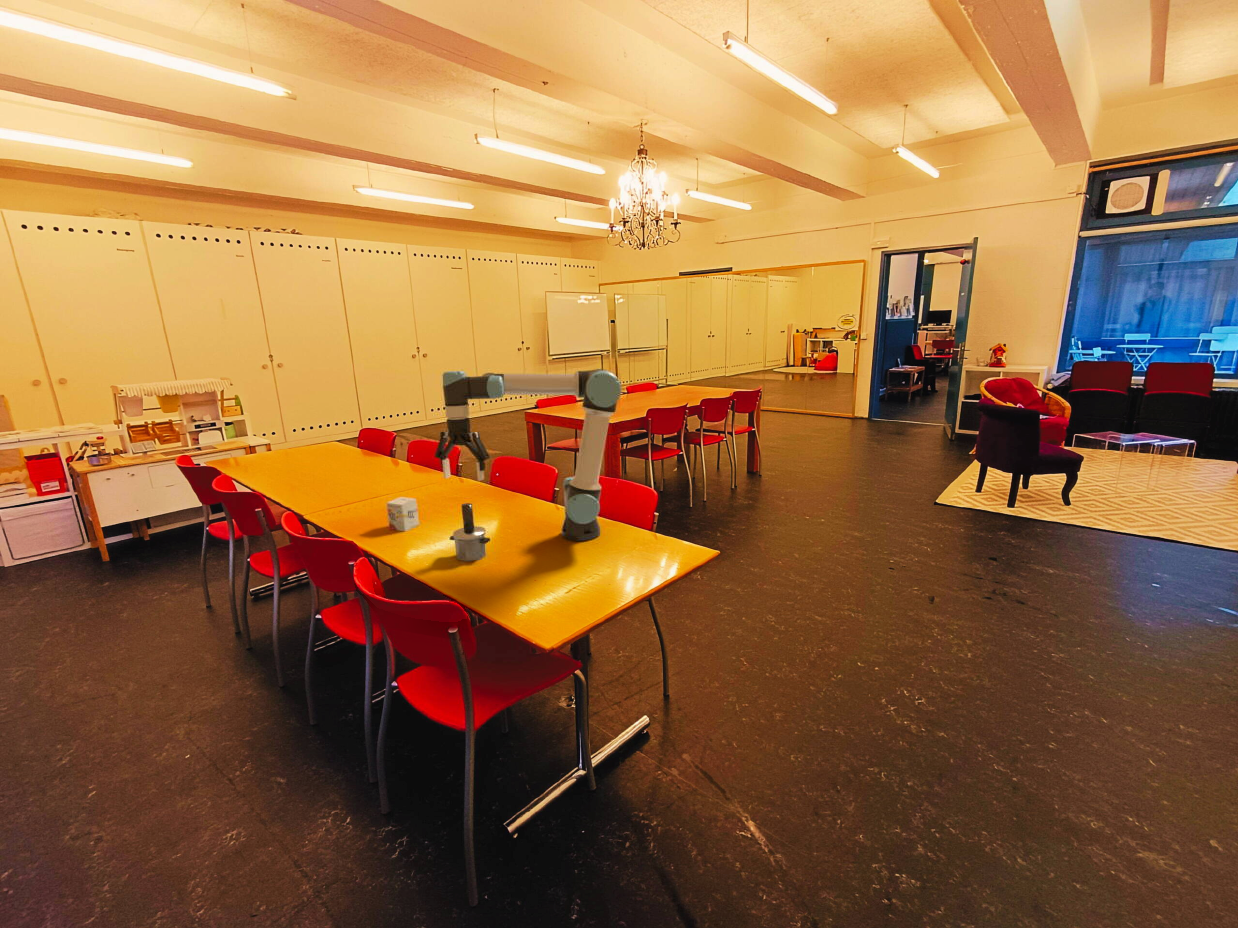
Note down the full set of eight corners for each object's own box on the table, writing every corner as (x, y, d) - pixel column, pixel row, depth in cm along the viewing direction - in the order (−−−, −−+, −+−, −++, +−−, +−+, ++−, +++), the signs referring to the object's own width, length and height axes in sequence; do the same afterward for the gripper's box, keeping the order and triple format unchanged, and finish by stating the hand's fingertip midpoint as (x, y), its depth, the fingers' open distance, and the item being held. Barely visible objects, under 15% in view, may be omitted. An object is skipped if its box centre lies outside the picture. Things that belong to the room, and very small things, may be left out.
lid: (491, 530, 194) (488, 501, 191) (474, 541, 183) (471, 510, 181) (465, 528, 197) (462, 499, 194) (447, 538, 187) (443, 508, 184)
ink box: (388, 529, 222) (385, 502, 219) (404, 522, 229) (400, 496, 227) (405, 531, 218) (401, 504, 216) (420, 524, 226) (416, 498, 223)
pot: (496, 552, 194) (494, 531, 193) (481, 563, 185) (479, 541, 183) (462, 548, 199) (460, 528, 197) (445, 559, 190) (443, 537, 188)
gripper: (496, 416, 180) (501, 477, 185) (433, 415, 188) (440, 473, 193) (484, 420, 173) (489, 483, 178) (419, 418, 181) (426, 479, 186)
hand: (464, 478), depth 185 cm, fingers open, 13 cm apart
